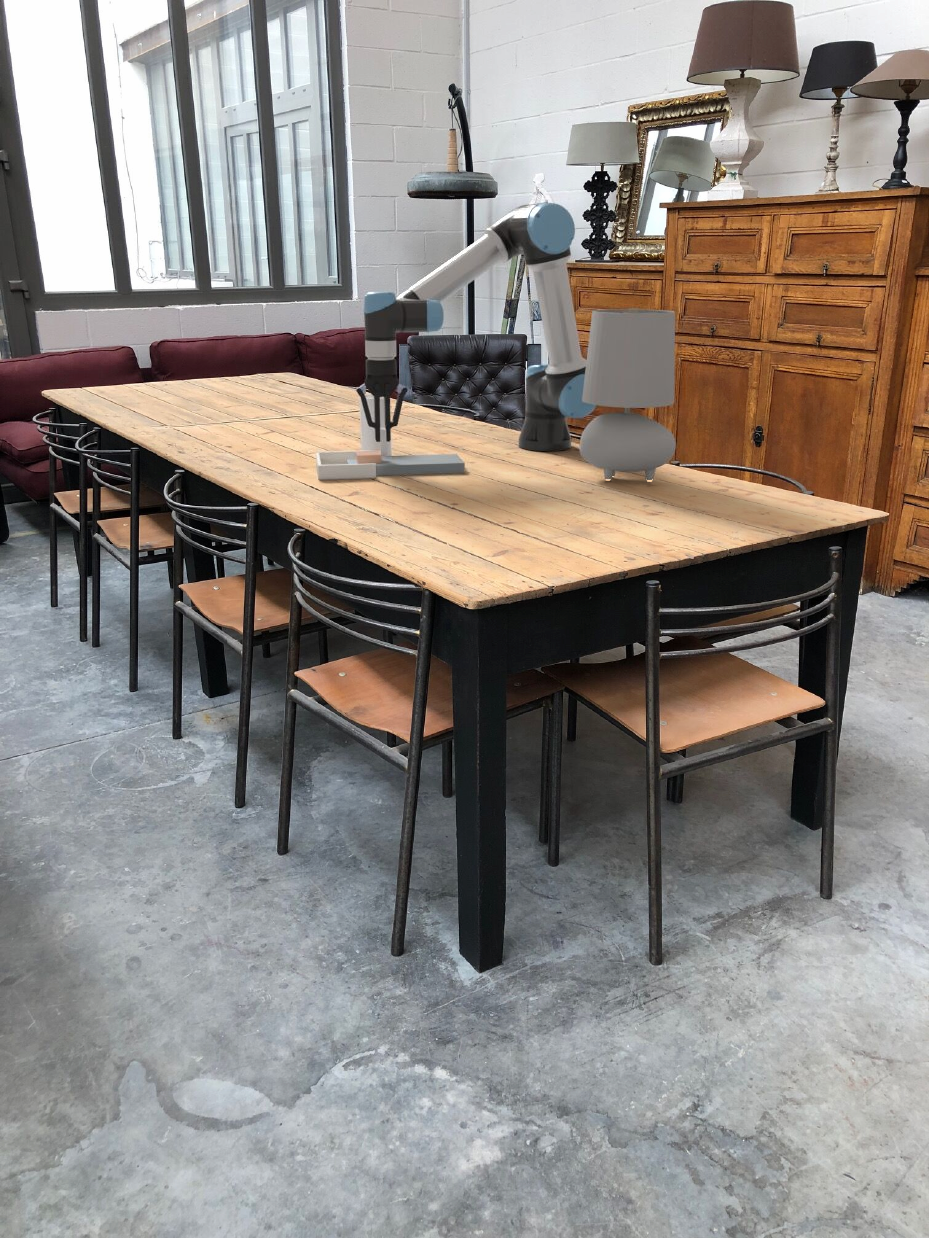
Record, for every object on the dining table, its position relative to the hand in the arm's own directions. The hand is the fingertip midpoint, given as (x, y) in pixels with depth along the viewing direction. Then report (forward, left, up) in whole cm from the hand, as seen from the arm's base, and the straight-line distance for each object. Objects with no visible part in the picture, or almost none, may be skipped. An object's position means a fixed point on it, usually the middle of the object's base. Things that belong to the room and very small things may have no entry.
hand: (383, 454), depth 243 cm
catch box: (+10, 0, -4) cm, 11 cm away
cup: (0, -19, -4) cm, 20 cm away
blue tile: (+6, 0, -4) cm, 7 cm away
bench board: (-9, 0, -4) cm, 10 cm away
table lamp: (-57, +21, -4) cm, 61 cm away
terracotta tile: (+4, 0, -2) cm, 4 cm away
